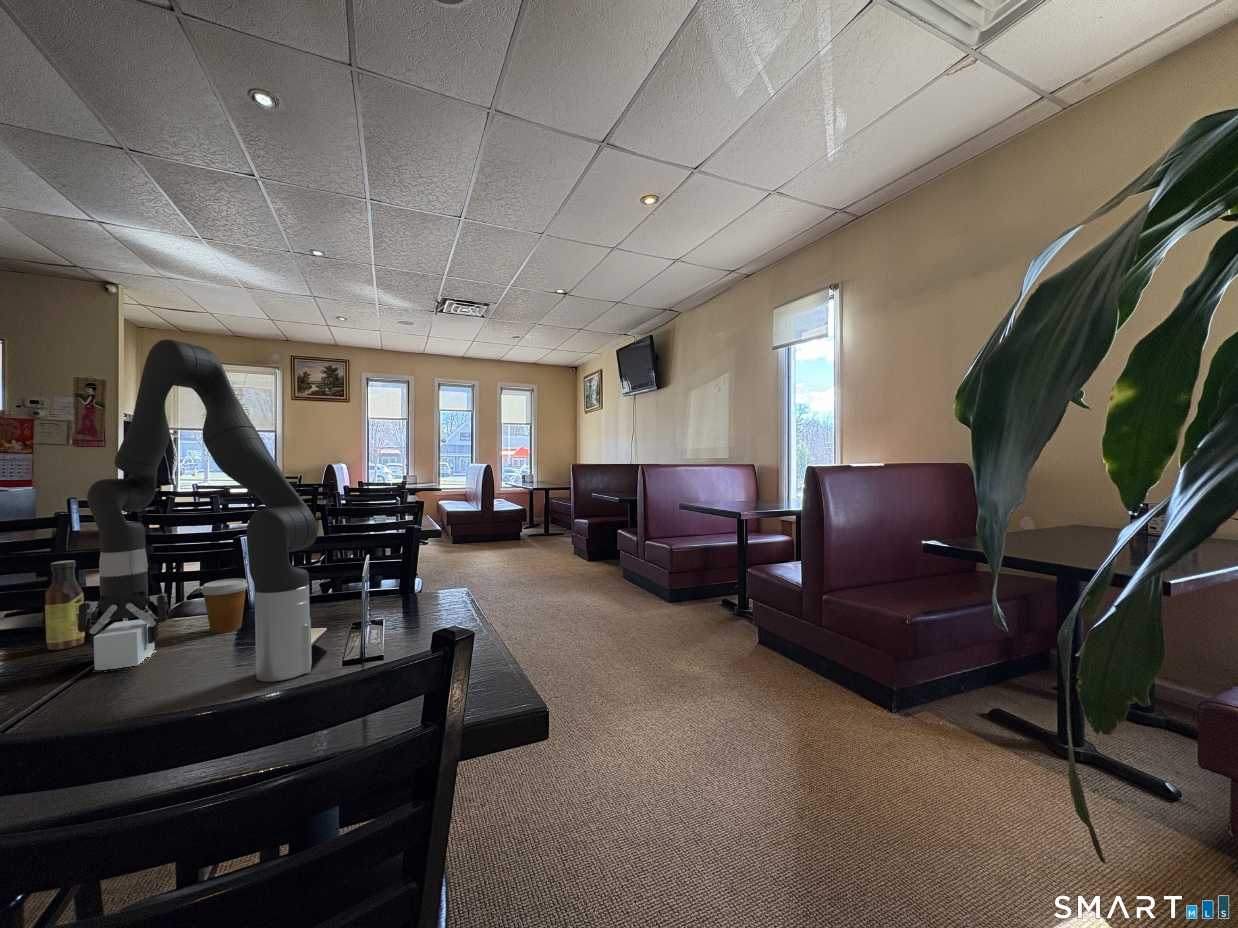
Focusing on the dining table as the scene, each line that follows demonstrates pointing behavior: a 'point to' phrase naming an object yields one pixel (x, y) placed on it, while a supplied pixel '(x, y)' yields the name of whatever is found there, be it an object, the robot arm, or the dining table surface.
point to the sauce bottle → (63, 607)
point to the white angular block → (122, 645)
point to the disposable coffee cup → (225, 604)
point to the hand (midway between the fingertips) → (126, 645)
